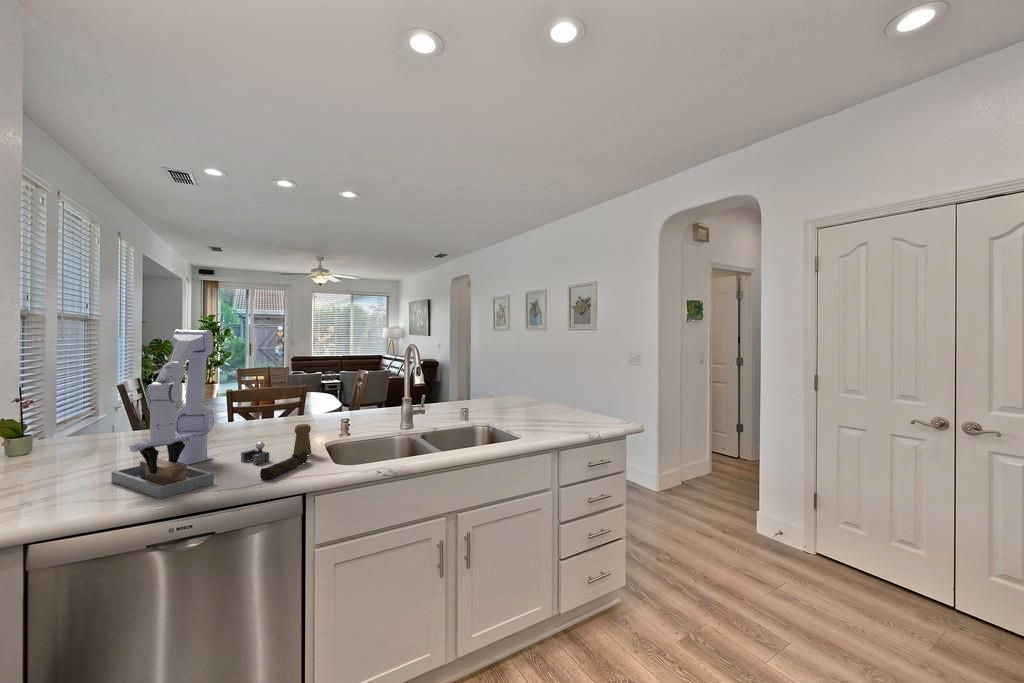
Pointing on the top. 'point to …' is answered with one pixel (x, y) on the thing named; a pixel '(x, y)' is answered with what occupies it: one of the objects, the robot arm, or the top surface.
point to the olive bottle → (302, 438)
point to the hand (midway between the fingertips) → (162, 470)
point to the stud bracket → (256, 454)
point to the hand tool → (283, 465)
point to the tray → (133, 481)
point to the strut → (164, 472)
